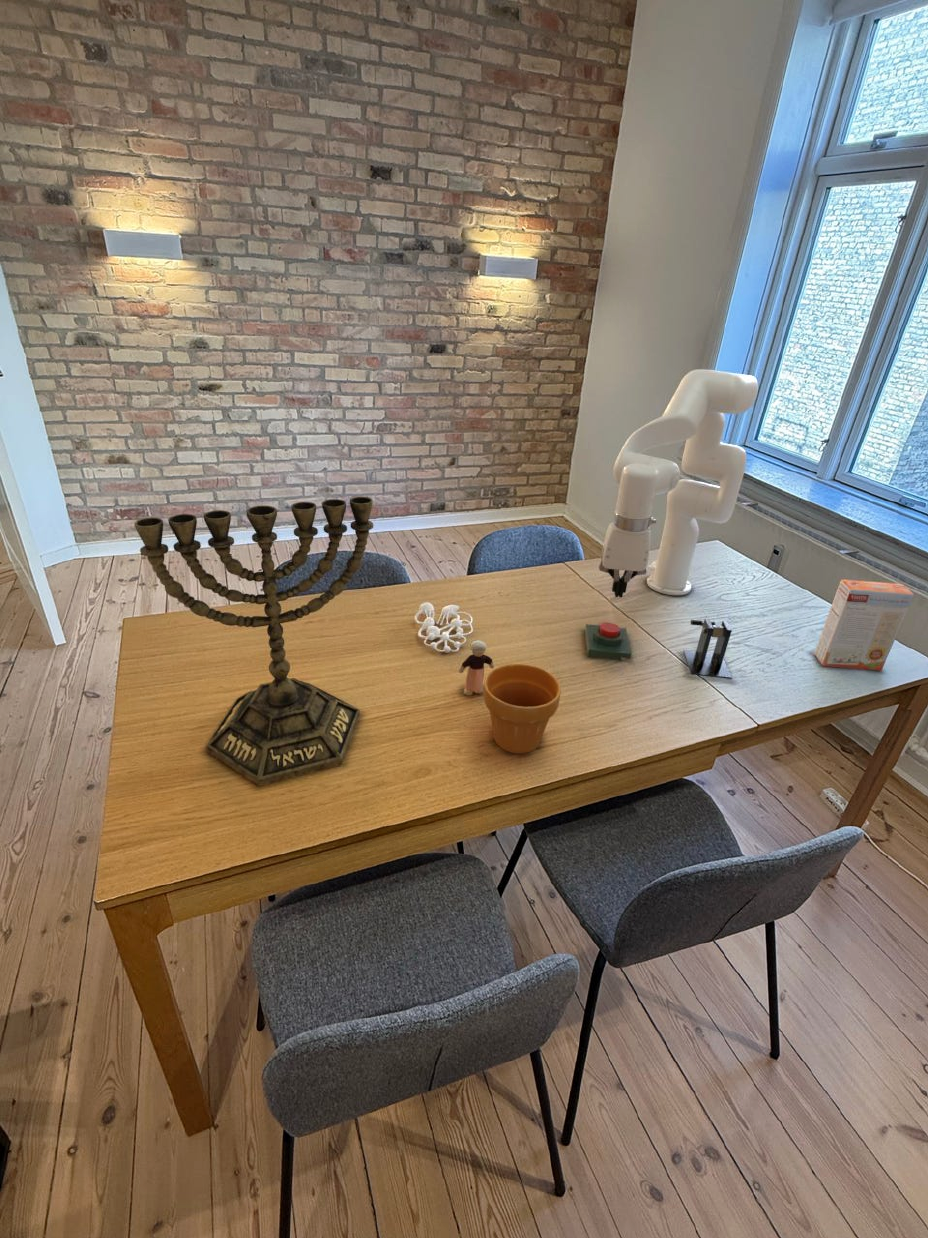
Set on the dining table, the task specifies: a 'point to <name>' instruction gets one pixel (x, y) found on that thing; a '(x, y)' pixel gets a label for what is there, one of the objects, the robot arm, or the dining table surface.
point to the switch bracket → (710, 662)
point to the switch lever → (716, 628)
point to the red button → (609, 630)
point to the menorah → (285, 708)
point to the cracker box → (862, 624)
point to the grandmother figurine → (476, 668)
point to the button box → (606, 644)
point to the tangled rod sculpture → (434, 631)
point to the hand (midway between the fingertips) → (618, 594)
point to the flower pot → (520, 704)
